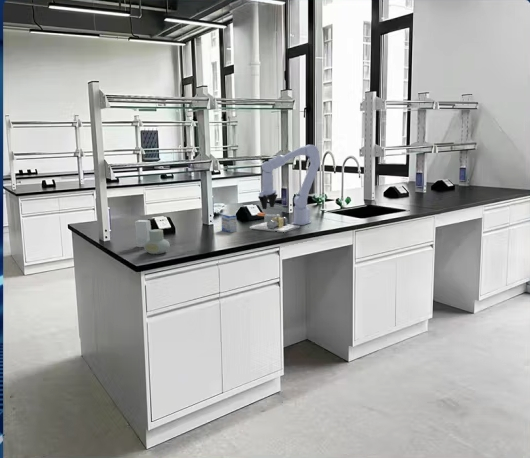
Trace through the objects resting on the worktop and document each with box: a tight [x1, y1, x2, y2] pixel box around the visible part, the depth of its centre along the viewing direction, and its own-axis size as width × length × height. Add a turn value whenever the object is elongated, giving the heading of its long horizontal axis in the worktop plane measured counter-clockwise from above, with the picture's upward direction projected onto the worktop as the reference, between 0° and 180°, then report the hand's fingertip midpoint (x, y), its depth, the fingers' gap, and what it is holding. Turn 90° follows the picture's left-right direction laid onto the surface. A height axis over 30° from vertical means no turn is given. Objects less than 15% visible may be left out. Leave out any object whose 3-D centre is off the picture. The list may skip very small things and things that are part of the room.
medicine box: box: [220, 213, 238, 233], centre depth 254 cm, size 8×4×9 cm, turn 40°
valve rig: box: [249, 216, 301, 233], centre depth 260 cm, size 16×22×6 cm
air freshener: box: [143, 228, 171, 255], centre depth 210 cm, size 11×8×10 cm
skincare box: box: [134, 219, 152, 248], centre depth 222 cm, size 6×4×12 cm
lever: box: [256, 212, 281, 218], centre depth 262 cm, size 14×3×1 cm, turn 54°
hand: (268, 208), depth 268 cm, fingers open, 7 cm apart
